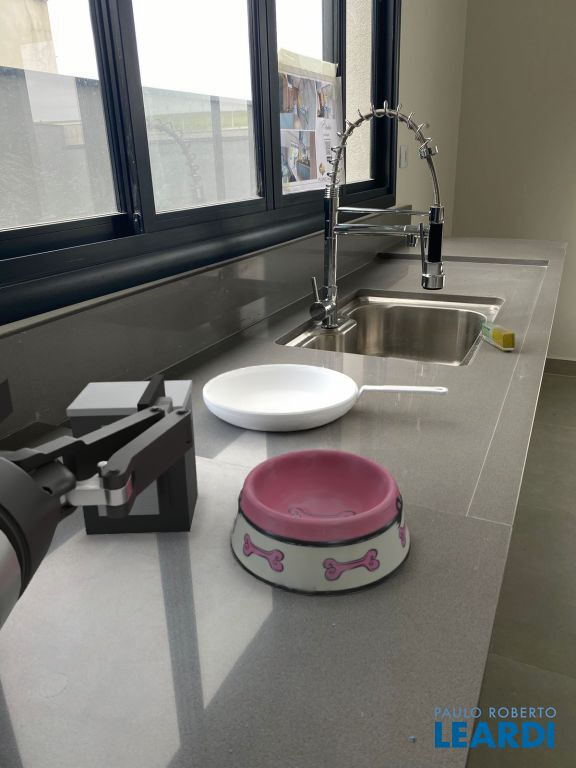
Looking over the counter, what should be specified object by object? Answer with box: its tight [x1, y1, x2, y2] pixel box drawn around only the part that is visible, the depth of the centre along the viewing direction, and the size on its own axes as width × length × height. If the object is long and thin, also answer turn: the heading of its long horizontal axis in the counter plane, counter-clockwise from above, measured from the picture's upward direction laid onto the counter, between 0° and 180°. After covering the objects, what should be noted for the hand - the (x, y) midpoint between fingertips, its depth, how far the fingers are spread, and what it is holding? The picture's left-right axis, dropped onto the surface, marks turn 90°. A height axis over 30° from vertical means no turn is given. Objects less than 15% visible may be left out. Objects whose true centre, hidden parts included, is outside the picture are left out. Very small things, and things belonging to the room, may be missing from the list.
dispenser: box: [65, 379, 199, 536], centre depth 66 cm, size 8×11×14 cm
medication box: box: [481, 321, 516, 352], centre depth 134 cm, size 12×3×4 cm, turn 5°
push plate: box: [98, 478, 161, 516], centre depth 60 cm, size 1×6×5 cm, turn 92°
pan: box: [202, 363, 449, 432], centre depth 97 cm, size 25×39×4 cm, turn 82°
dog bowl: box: [229, 448, 412, 596], centre depth 62 cm, size 18×19×7 cm
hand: (83, 393), depth 46 cm, fingers open, 11 cm apart
